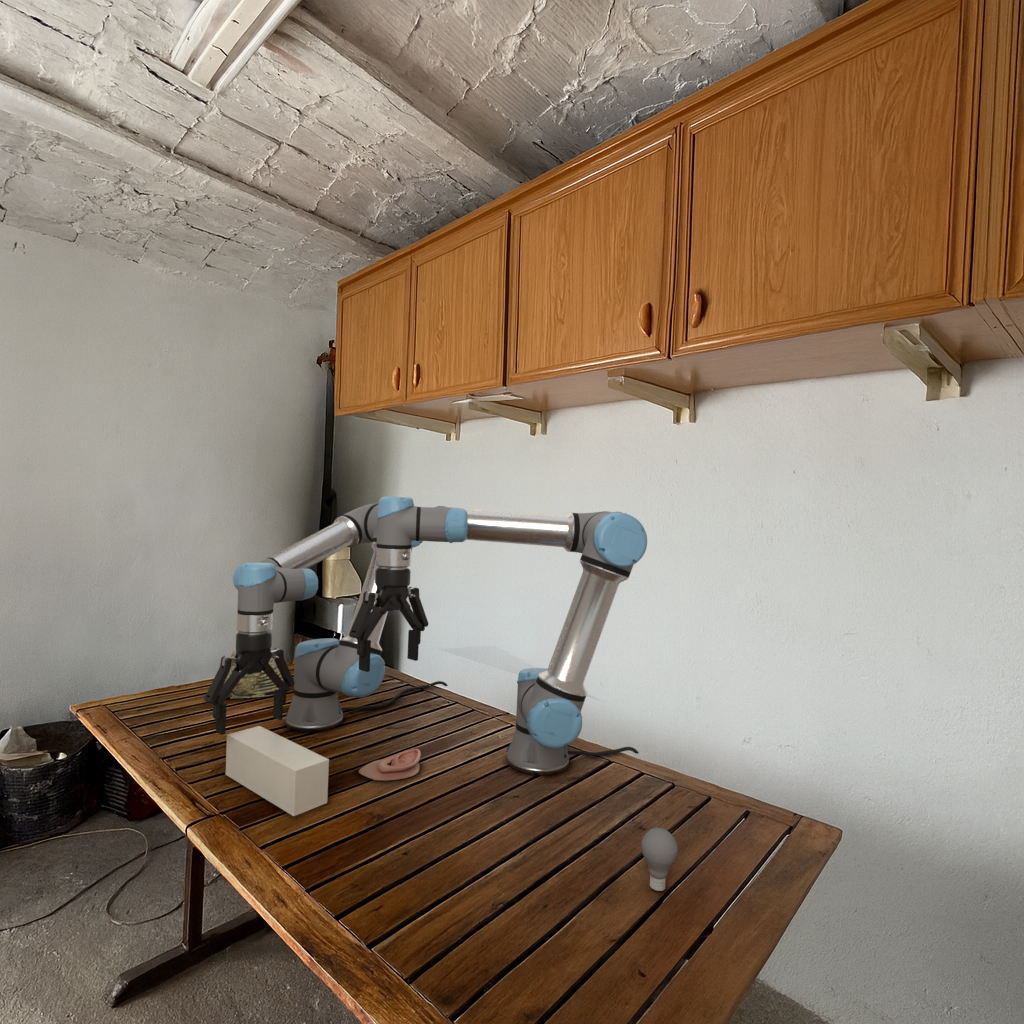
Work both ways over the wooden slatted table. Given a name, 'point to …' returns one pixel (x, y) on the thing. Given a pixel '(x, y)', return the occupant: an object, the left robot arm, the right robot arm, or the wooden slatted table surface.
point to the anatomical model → (393, 766)
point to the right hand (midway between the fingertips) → (389, 664)
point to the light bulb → (659, 855)
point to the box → (277, 769)
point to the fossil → (254, 683)
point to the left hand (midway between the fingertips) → (250, 725)
